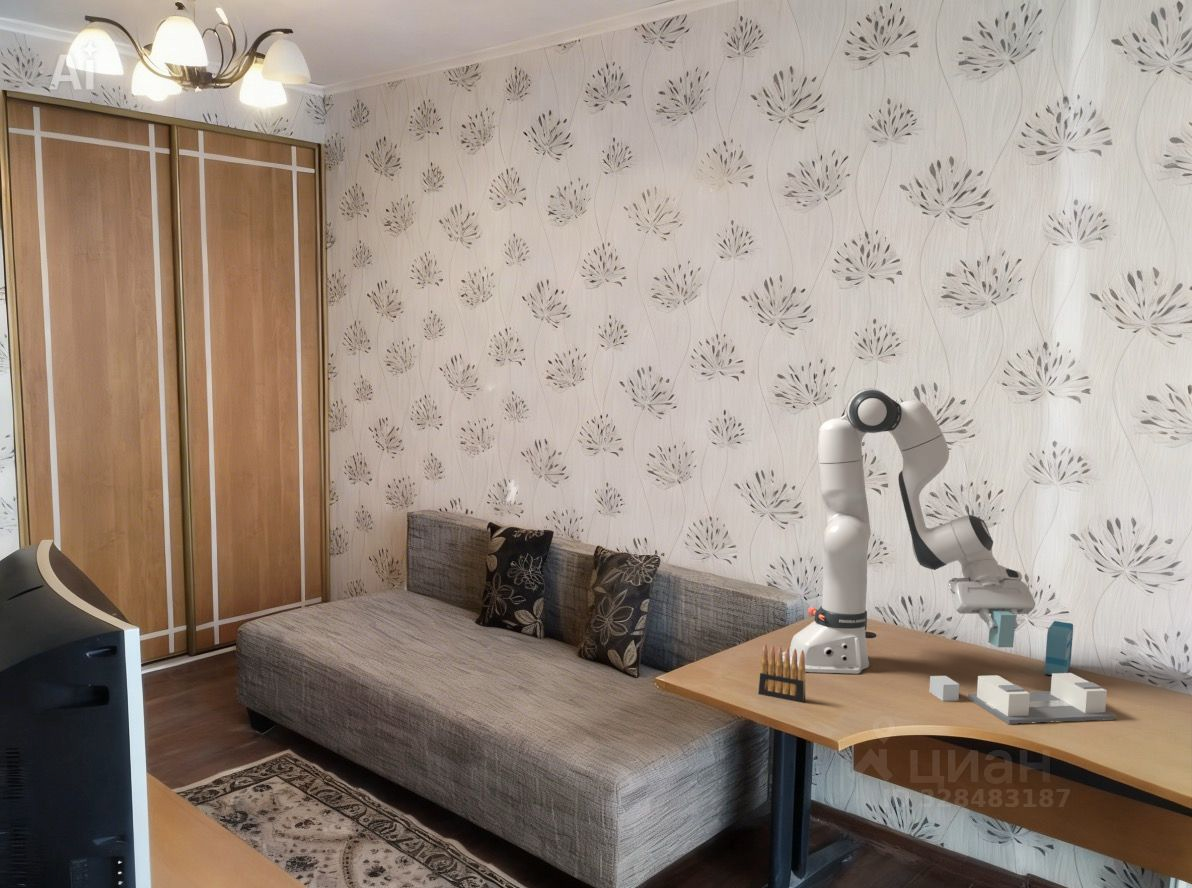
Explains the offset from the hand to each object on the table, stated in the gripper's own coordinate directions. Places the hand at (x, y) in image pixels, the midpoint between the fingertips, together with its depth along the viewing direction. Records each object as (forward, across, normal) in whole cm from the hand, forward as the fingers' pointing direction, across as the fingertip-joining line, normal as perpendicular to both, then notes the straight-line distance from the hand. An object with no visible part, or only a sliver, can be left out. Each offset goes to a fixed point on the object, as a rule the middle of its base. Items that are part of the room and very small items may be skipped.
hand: (1003, 627), depth 225 cm
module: (+3, 0, +4) cm, 4 cm away
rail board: (+21, +1, 0) cm, 21 cm away
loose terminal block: (+14, -17, +8) cm, 23 cm away
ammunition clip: (+13, -56, +11) cm, 59 cm away
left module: (+21, -9, 0) cm, 23 cm away
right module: (+20, +10, 0) cm, 23 cm away
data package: (+4, +23, +17) cm, 29 cm away
